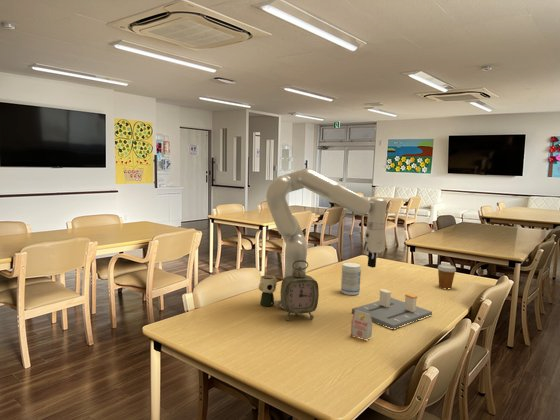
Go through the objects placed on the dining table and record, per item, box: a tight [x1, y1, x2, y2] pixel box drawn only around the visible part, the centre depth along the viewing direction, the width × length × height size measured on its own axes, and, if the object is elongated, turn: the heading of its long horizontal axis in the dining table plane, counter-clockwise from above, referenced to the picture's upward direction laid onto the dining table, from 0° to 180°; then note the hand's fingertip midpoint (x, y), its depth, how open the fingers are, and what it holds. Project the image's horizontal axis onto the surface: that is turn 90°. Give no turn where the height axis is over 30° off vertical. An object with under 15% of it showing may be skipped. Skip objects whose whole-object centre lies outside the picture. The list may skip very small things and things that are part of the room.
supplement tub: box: [340, 262, 362, 296], centre depth 208 cm, size 10×10×15 cm
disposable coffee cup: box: [437, 263, 457, 290], centre depth 223 cm, size 10×10×12 cm
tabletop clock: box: [280, 260, 320, 322], centre depth 171 cm, size 14×9×25 cm, turn 105°
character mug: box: [258, 274, 278, 307], centre depth 185 cm, size 11×7×13 cm, turn 136°
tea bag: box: [350, 310, 373, 339], centre depth 155 cm, size 4×7×10 cm, turn 52°
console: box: [351, 297, 433, 329], centre depth 180 cm, size 28×22×2 cm
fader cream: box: [378, 288, 392, 307], centre depth 184 cm, size 3×4×7 cm, turn 38°
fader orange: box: [404, 293, 418, 312], centre depth 179 cm, size 3×4×7 cm, turn 38°
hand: (371, 266), depth 180 cm, fingers closed
